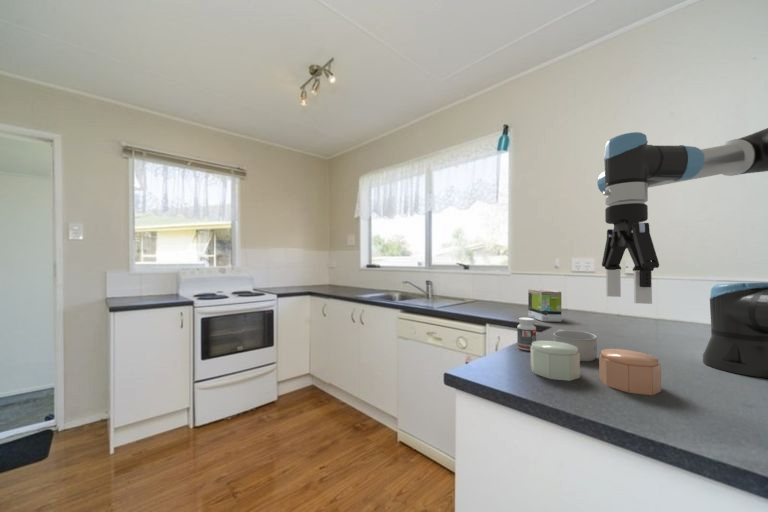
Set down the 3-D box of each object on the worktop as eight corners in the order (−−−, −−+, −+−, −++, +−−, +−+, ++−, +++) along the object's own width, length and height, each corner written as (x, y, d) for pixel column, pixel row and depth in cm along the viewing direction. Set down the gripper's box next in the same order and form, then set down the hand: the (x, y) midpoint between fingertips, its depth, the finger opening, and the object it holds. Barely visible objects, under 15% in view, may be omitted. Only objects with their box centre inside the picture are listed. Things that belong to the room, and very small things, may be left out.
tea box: (562, 321, 150) (562, 291, 150) (541, 321, 150) (541, 291, 151) (546, 316, 165) (546, 288, 165) (527, 316, 165) (527, 288, 166)
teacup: (604, 369, 83) (604, 339, 84) (560, 366, 86) (560, 337, 86) (582, 354, 97) (582, 328, 97) (545, 352, 99) (545, 326, 99)
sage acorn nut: (570, 373, 80) (570, 342, 80) (584, 388, 70) (584, 353, 70) (528, 369, 83) (528, 339, 83) (536, 383, 73) (535, 349, 73)
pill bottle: (537, 351, 99) (536, 320, 99) (517, 350, 101) (517, 319, 102) (535, 347, 105) (535, 317, 105) (517, 345, 107) (516, 316, 107)
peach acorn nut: (643, 385, 72) (643, 350, 72) (670, 404, 63) (669, 364, 63) (594, 380, 75) (594, 347, 75) (612, 398, 65) (612, 359, 66)
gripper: (586, 214, 83) (587, 293, 82) (633, 194, 59) (635, 306, 58) (619, 213, 81) (620, 294, 80) (682, 191, 57) (684, 308, 56)
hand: (626, 299), depth 69 cm, fingers open, 13 cm apart
